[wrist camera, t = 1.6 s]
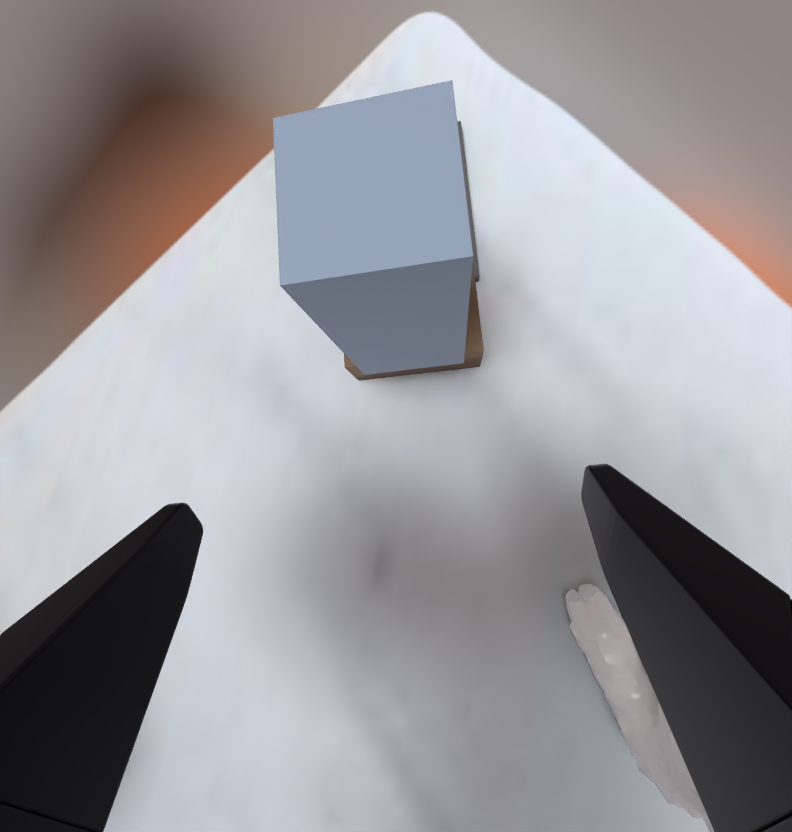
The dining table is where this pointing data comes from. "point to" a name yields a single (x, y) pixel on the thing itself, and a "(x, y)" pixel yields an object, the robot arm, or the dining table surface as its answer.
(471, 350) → the walnut plinth
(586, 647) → the white creature statuette
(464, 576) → the dining table surface
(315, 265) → the slate-blue block
